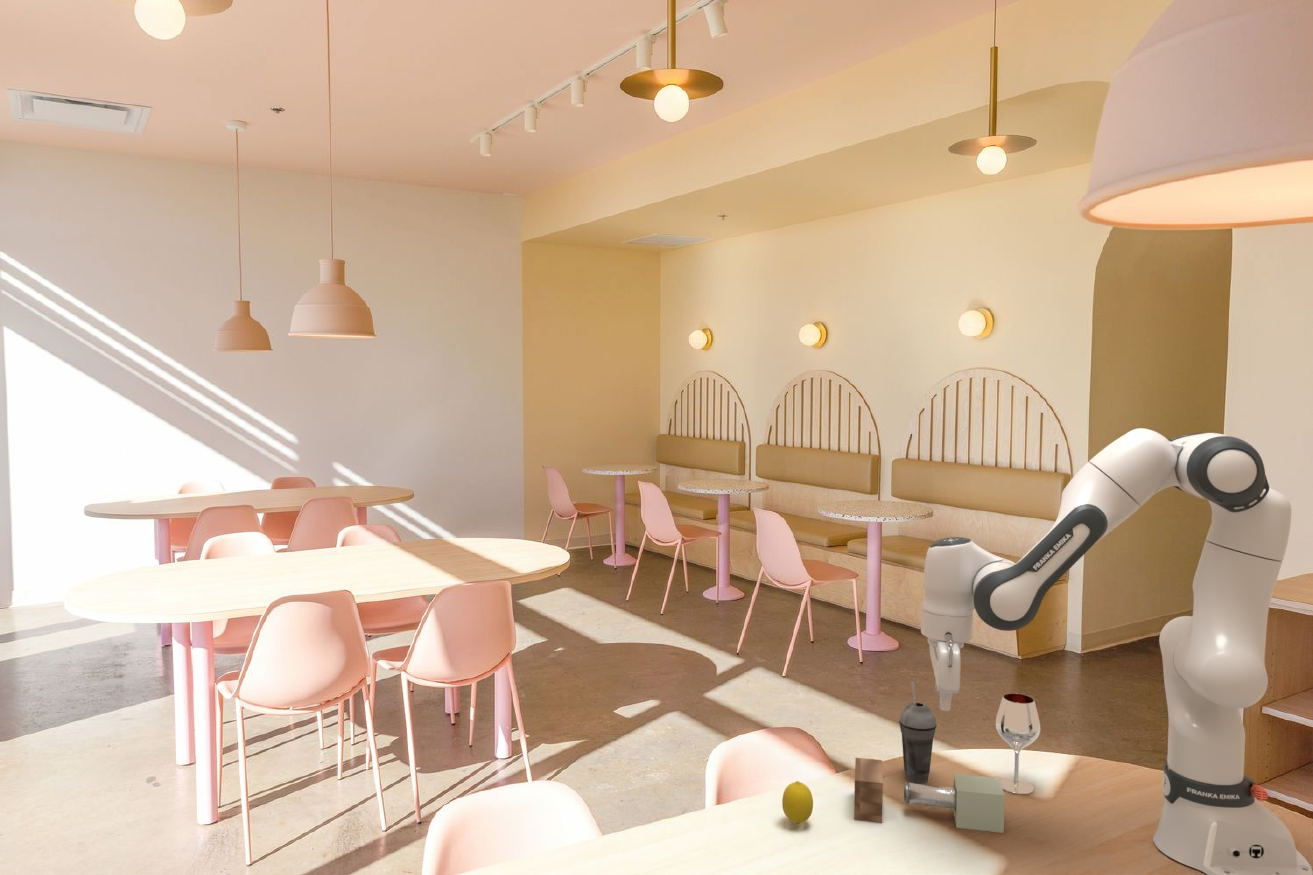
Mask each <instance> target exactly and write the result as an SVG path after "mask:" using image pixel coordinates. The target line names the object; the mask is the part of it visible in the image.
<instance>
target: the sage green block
mask: <svg viewBox="0 0 1313 875" xmlns="http://www.w3.org/2000/svg"><path fill="white" fill-rule="evenodd" d="M1000 781H1001V779H1000V778H999V777H989V776H981V775H971V774H962V773H953V787H952V788H956V791H957V797H956V809H952V811H953V817H954V823H955V826H956V827H955V828H957V829H965V830H974V831H982V832H991V833H1000V834H1004V833H1005V830H1004V829H1005V800H1006V798H1005V797H1006V796H1005V792H1004V790H1003V789H1002V786H1001V783H1000Z"/></svg>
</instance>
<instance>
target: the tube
mask: <svg viewBox="0 0 1313 875" xmlns="http://www.w3.org/2000/svg"><path fill="white" fill-rule="evenodd" d="M956 797H957V791H956V788H953V787H949V786H941V785H933V784H931V785H930V784H914V783H911V782H903V804H908V805H915V806H917V805H918V806H927V807H934V808H935V807H936V808H943V809H952V810H953V809H956Z"/></svg>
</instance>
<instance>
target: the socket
mask: <svg viewBox="0 0 1313 875" xmlns="http://www.w3.org/2000/svg"><path fill="white" fill-rule="evenodd" d="M883 771H884V770H883V760H882V759H874V758H863V757H855V764H854V804H853V805H854V807H853V810H854V811H853V818H854V819H853V820H854V821H859V822H860V821H861V822H868V823H877V824H883V808H884V807H883V805H884V804H883V800H884V799H883V797H884V794H883V793H884V792H883V790H884V778H883V777H884V775H883V773H884V772H883Z"/></svg>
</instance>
